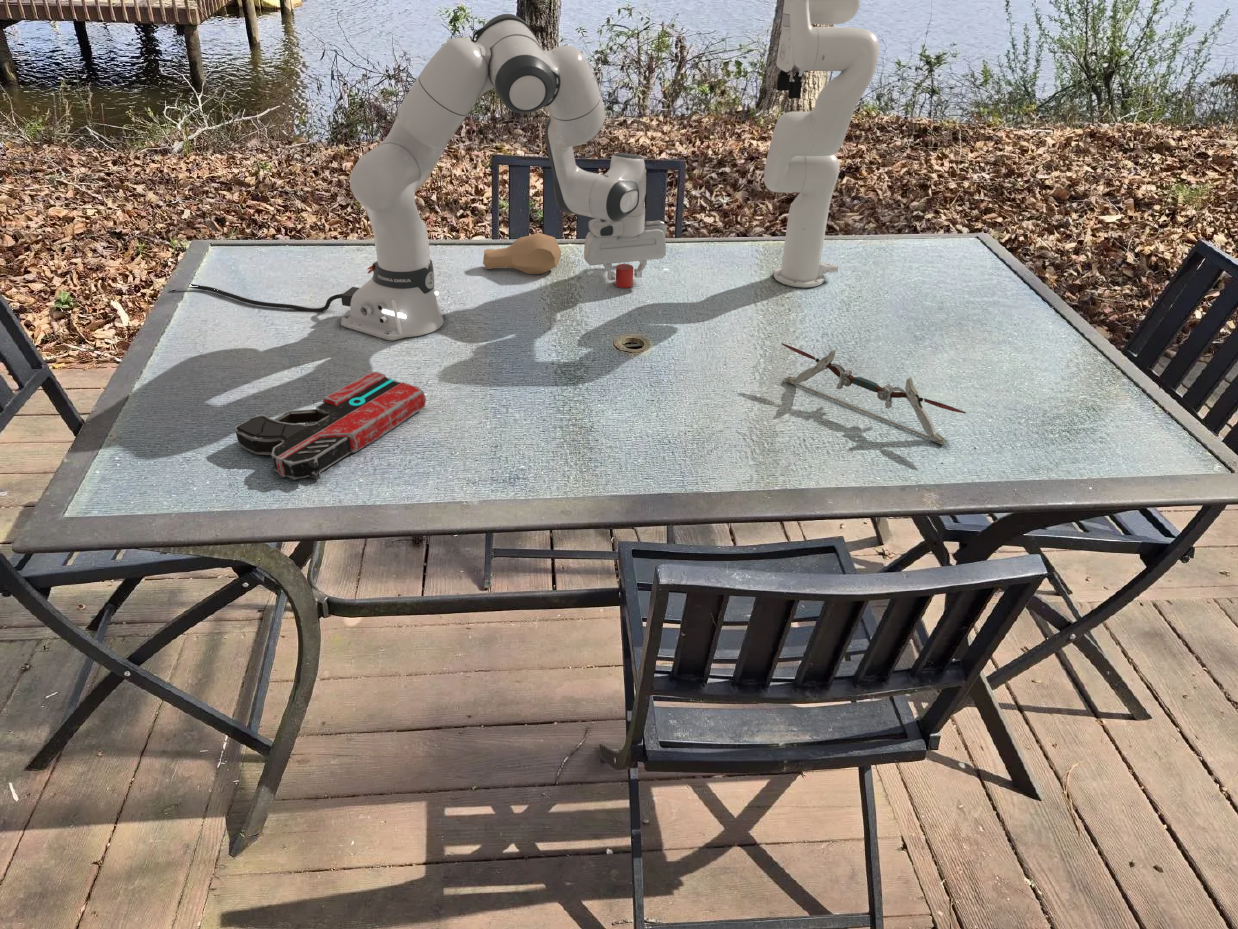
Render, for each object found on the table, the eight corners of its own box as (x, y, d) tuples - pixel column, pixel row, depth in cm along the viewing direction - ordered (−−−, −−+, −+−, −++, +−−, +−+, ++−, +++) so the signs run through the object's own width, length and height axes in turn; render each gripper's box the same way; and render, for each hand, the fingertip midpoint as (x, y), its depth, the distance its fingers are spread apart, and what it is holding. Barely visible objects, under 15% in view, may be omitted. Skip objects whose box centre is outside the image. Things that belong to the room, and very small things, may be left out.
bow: (958, 447, 158) (972, 398, 152) (954, 450, 157) (967, 402, 151) (779, 375, 179) (785, 330, 174) (774, 378, 178) (780, 333, 172)
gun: (219, 431, 148) (300, 468, 140) (353, 358, 170) (430, 387, 162) (225, 453, 150) (305, 490, 143) (356, 378, 172) (432, 408, 164)
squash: (562, 278, 220) (556, 246, 214) (484, 285, 222) (476, 253, 216) (564, 255, 228) (559, 224, 222) (489, 262, 230) (481, 231, 223)
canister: (619, 280, 220) (620, 262, 217) (635, 283, 218) (636, 265, 216) (612, 286, 217) (613, 268, 214) (628, 289, 215) (629, 271, 213)
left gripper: (662, 215, 214) (659, 269, 222) (582, 222, 209) (581, 277, 216) (671, 223, 209) (668, 278, 217) (589, 230, 204) (589, 286, 211)
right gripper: (772, 16, 228) (764, 87, 237) (793, 26, 213) (784, 101, 223) (800, 17, 229) (791, 87, 238) (822, 26, 214) (812, 100, 224)
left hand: (624, 278), depth 216 cm, fingers open, 5 cm apart
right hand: (788, 93), depth 230 cm, fingers open, 9 cm apart
